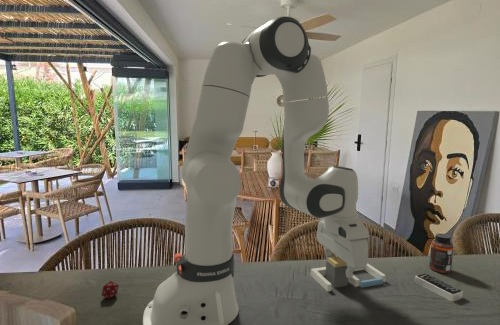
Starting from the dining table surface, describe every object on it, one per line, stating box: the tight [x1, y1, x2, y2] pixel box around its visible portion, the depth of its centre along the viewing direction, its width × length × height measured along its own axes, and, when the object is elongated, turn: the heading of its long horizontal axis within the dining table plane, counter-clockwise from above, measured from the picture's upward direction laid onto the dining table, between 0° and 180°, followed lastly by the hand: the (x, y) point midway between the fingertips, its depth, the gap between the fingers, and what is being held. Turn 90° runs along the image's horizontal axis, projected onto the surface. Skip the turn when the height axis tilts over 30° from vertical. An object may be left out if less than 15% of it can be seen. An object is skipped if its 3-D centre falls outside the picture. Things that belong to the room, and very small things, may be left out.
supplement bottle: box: [428, 233, 454, 274], centre depth 95 cm, size 6×6×11 cm
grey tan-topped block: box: [325, 256, 349, 289], centre depth 87 cm, size 4×4×7 cm
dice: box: [101, 280, 119, 300], centre depth 78 cm, size 4×4×4 cm
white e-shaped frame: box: [310, 262, 387, 293], centre depth 89 cm, size 19×10×2 cm, turn 107°
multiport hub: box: [414, 272, 464, 302], centre depth 84 cm, size 4×11×2 cm, turn 24°
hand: (338, 268), depth 87 cm, fingers open, 8 cm apart
